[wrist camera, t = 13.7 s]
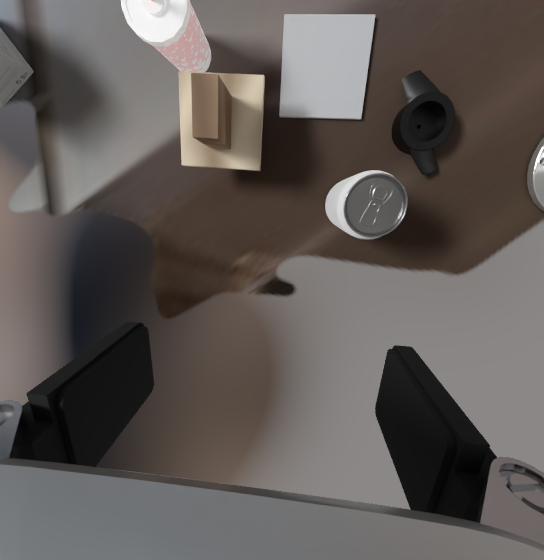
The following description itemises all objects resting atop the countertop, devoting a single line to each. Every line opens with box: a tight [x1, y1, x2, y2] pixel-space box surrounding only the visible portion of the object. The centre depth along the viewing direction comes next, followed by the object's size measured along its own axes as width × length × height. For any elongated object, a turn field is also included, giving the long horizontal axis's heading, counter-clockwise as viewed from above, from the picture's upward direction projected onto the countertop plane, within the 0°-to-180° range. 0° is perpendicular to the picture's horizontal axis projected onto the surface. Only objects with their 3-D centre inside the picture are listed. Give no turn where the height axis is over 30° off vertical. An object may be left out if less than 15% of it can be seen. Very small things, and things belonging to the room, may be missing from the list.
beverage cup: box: [121, 0, 211, 72], centre depth 24 cm, size 6×6×14 cm
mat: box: [279, 14, 375, 120], centre depth 30 cm, size 10×10×1 cm
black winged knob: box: [392, 70, 455, 175], centre depth 30 cm, size 8×10×3 cm
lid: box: [178, 71, 265, 171], centre depth 26 cm, size 9×9×6 cm
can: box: [325, 170, 408, 239], centre depth 29 cm, size 6×6×12 cm
